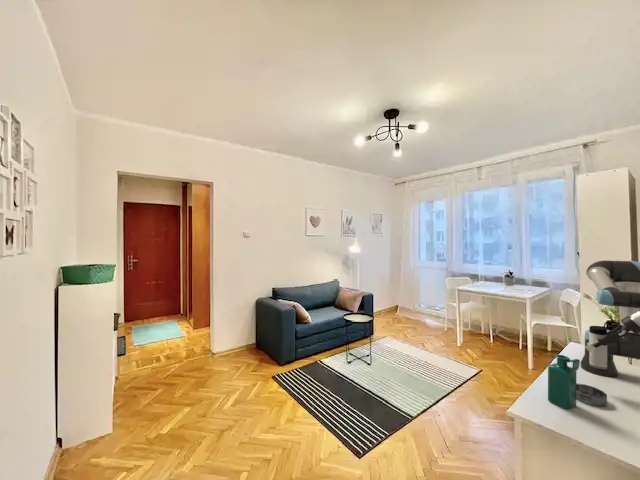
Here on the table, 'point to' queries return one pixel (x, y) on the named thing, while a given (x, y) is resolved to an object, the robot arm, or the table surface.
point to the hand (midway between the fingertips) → (588, 347)
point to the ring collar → (596, 397)
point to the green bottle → (562, 382)
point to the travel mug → (599, 355)
